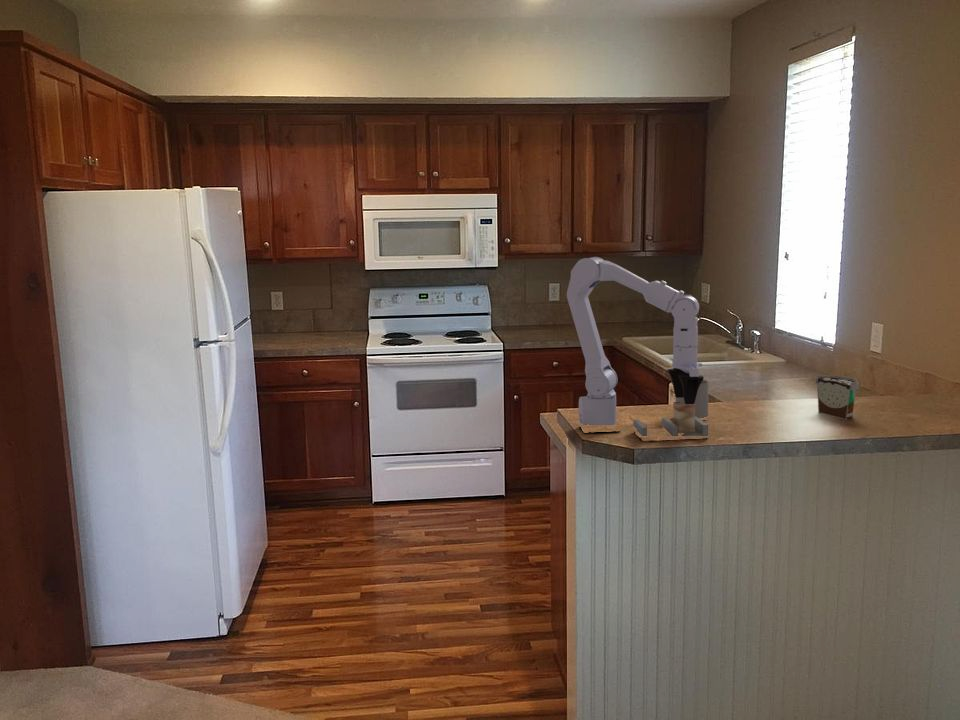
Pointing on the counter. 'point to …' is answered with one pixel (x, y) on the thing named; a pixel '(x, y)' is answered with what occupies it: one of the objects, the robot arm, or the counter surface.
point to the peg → (684, 417)
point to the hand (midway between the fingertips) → (684, 400)
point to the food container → (836, 395)
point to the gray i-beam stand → (674, 427)
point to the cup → (700, 400)
